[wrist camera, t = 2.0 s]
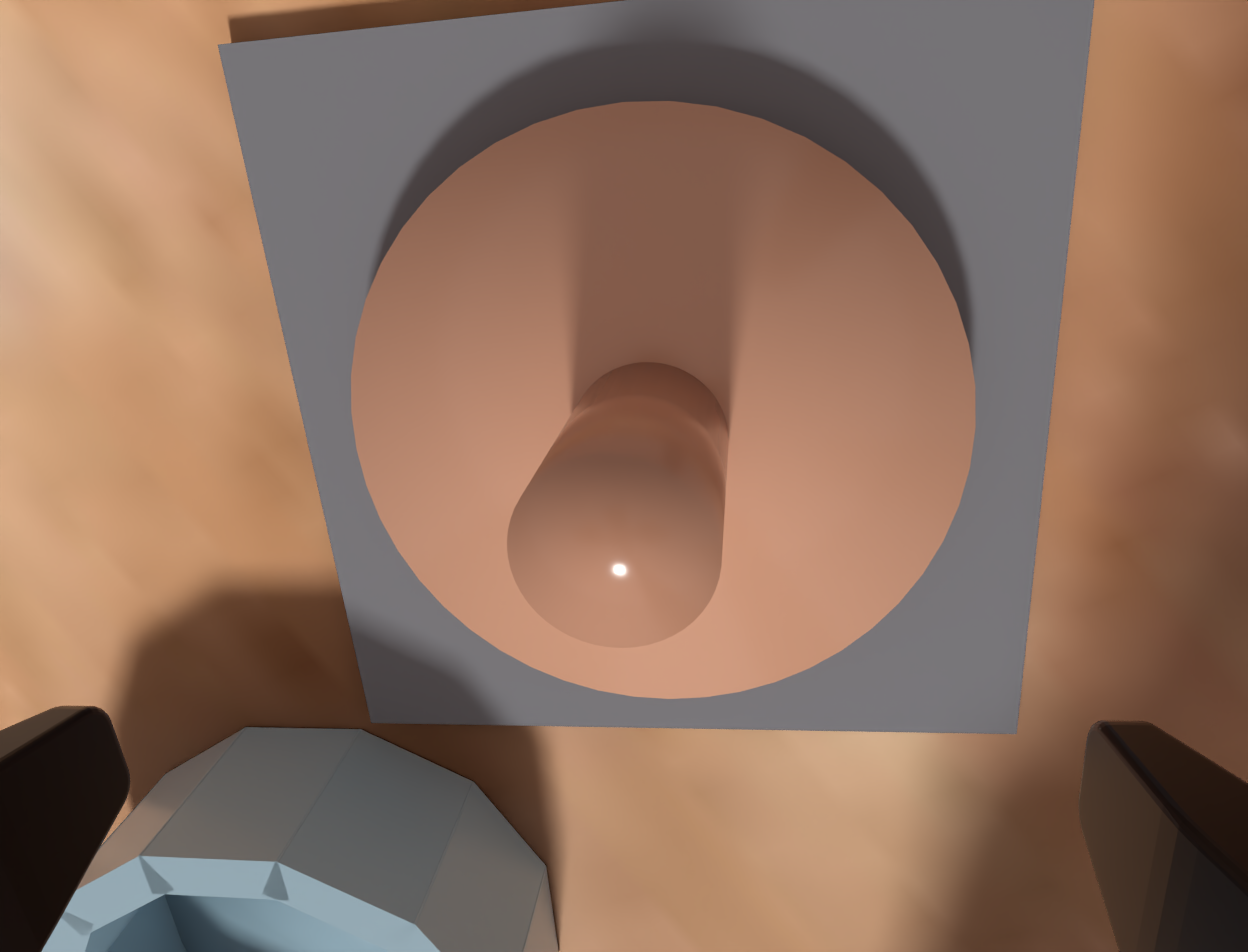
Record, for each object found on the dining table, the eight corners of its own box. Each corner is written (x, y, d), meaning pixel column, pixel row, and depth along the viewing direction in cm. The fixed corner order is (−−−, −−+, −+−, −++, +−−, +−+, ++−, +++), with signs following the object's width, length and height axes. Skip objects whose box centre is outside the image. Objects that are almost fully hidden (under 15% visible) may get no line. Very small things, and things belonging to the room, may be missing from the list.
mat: (1089, -47, 13) (1099, -52, 13) (1011, 721, 18) (1016, 733, 18) (231, 46, 15) (217, 44, 15) (377, 712, 20) (371, 723, 20)
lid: (982, 70, 13) (1126, 35, 8) (946, 671, 17) (1027, 894, 12) (318, 133, 15) (101, 136, 10) (424, 668, 19) (307, 864, 14)
